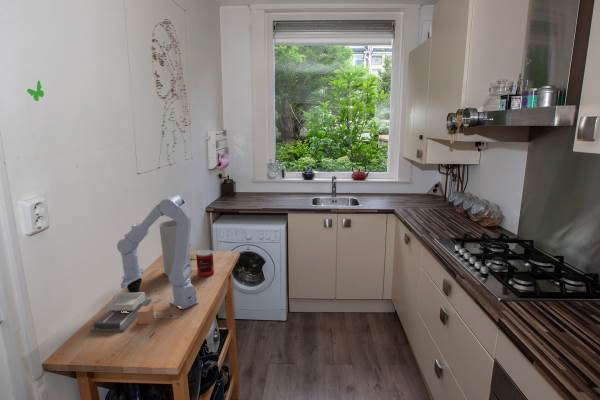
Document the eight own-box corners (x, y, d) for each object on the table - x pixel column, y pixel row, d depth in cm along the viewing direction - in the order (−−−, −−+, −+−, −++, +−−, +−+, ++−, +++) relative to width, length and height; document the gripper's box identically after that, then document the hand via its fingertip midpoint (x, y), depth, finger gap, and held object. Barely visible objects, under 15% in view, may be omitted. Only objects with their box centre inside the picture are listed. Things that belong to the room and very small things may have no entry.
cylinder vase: (160, 278, 174) (154, 227, 169) (170, 267, 186) (165, 220, 181) (186, 277, 174) (181, 226, 168) (195, 267, 186) (190, 219, 180)
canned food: (207, 269, 183) (205, 248, 181) (217, 273, 178) (216, 251, 176) (194, 274, 177) (192, 252, 175) (204, 278, 172) (202, 256, 170)
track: (122, 301, 152) (121, 294, 151) (151, 301, 152) (150, 294, 151) (90, 331, 131) (89, 324, 130) (123, 331, 130) (122, 323, 129)
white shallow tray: (121, 300, 150) (120, 292, 149) (145, 300, 149) (144, 292, 148) (108, 313, 140) (106, 304, 139) (133, 313, 139) (132, 304, 138)
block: (143, 318, 139) (142, 306, 138) (154, 318, 138) (152, 306, 137) (138, 324, 135) (137, 311, 134) (149, 324, 135) (147, 311, 134)
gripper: (130, 259, 155) (134, 289, 158) (111, 273, 141) (116, 305, 144) (146, 259, 154) (150, 289, 157) (129, 273, 140) (133, 305, 143)
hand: (135, 297), depth 151 cm, fingers closed
